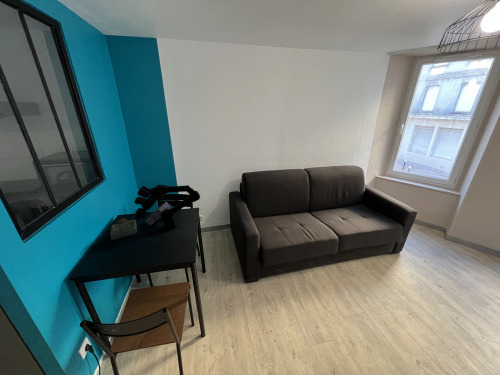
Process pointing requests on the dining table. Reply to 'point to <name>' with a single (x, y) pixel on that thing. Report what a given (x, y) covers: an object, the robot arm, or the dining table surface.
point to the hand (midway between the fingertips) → (138, 215)
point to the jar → (123, 225)
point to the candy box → (157, 214)
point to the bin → (117, 234)
